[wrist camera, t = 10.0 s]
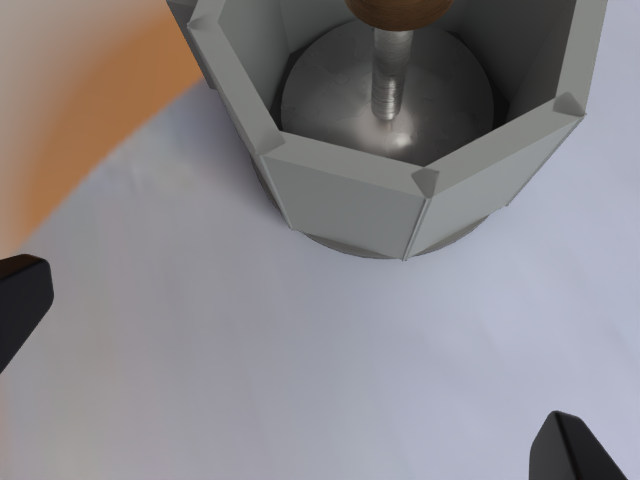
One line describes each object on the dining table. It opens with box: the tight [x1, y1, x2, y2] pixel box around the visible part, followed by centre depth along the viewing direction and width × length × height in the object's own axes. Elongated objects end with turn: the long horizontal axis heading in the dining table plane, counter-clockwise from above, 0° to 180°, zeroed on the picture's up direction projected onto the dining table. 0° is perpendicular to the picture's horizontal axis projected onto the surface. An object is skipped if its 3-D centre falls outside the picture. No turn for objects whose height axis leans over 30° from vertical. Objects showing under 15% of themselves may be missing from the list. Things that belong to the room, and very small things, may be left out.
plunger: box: [281, 0, 494, 167], centre depth 16 cm, size 8×8×10 cm
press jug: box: [166, 0, 608, 261], centre depth 19 cm, size 12×13×8 cm
